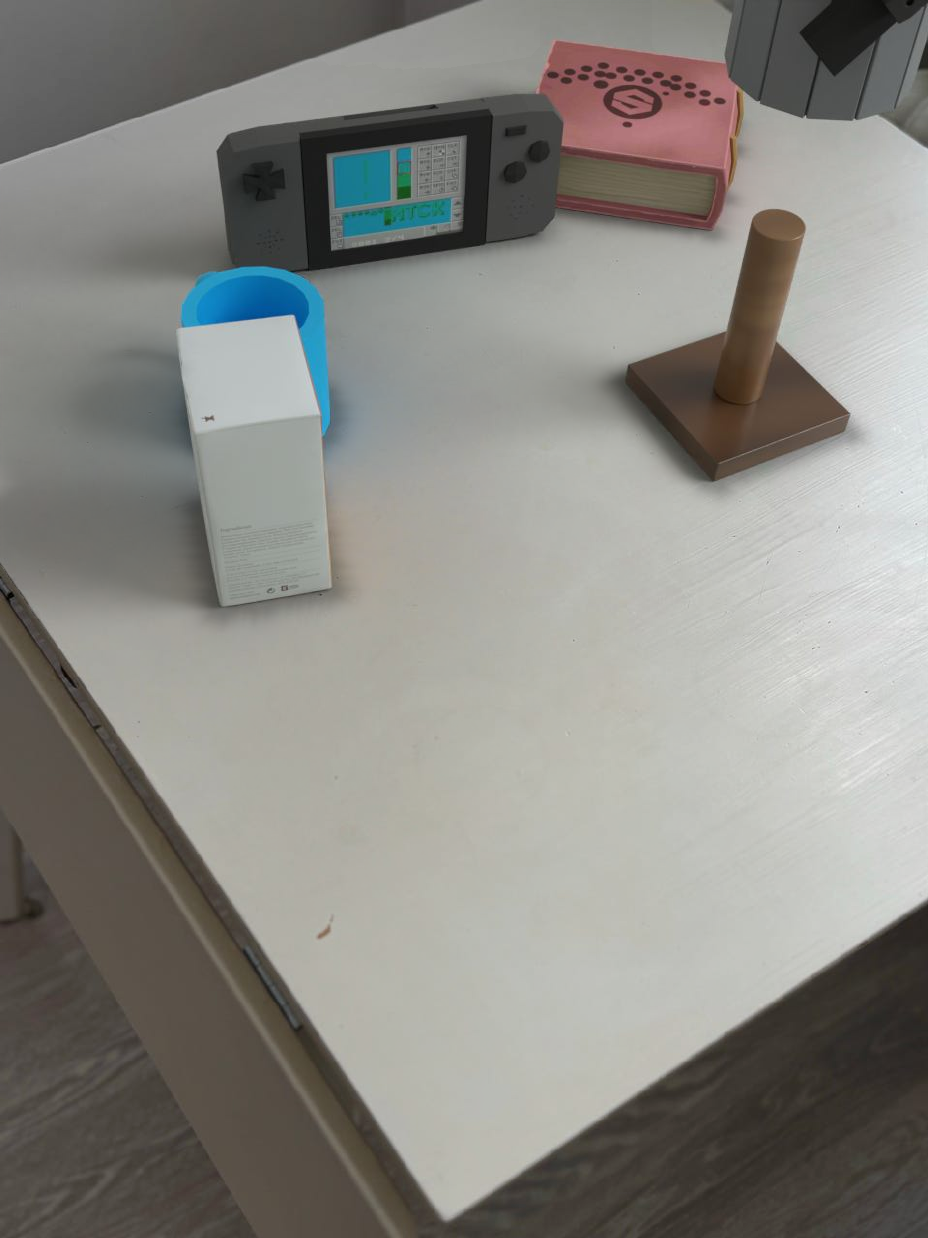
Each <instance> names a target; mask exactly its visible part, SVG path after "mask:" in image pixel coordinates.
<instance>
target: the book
mask: <svg viewBox="0 0 928 1238" xmlns="http://www.w3.org/2000/svg"><path fill="white" fill-rule="evenodd" d="M535 94H546V95H547V97H548V98H549V99H550V100H551V102H552V103H553V104H554V105H555V107H556V108H557V110H558V111H559V113H560V115H561V116H562V118H563V121H564V126H563V136H562V146H561V156H560V166H559V176H558V186H557V196H556V206H555V208H559V209H565V210H574V211H580V212H586V213H591V214H598V215H599V214H600V215H607V216H612V217H618V218H626V219H633V220H640V221H646V222H652V223H653V222H654V223H658V224H659V223H660V224H666V225H674V226H678V227H679V226H680V227H685V228H694V229H698V230H699V229H701V230H706V231H713V230H714V228H715V227H716V224H717V223H718V221H719V219H720V217H721V215H722V213H723V210H724V206H725V202H726V197H727V193H728V191H729V189H730V187H731V185H732V184H733V181H734V178H735V173H736V168H737V164H738V137H739V135H740V132H741V130H742V129H741V128H742V124H743V119H744V114H745V105H744V102H745V101H744V91H743V90H742V89H741V88H739V87H738V86H737V85H736V84H735V83H733V82H732V81H731V78H728V72H727V66H726V62H723V61H717V60H716V61H715V60H708V59H702V58H701V59H700V58H693V57H687V56H678V55H672V54H664V53H657V52H648V51H643V50H636V49H635V50H634V49H628V48H620V47H611V46H605V45H599V44H598V45H597V44H591V43H583V42H575V41H569V40H562V39H552V42H551V45H550V48H549V52H548V54H547V58H546V60H545V64H544V67H543V70H542V74H541V76H540V79H539V81H538V85H537V88H536V91H535Z"/></svg>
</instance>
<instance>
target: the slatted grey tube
mask: <svg viewBox="0 0 928 1238" xmlns="http://www.w3.org/2000/svg"><path fill="white" fill-rule="evenodd" d="M833 1H834V0H734V3H733V7H732V12H731V13H732V14H731V18H730V24H729V29H728V33H727V39H726V45H725V50H724V60H725V63H726V66H727V72H728V78H731V81H732V82H733V83H735V84H736V85H737V86H738V87H739V88H741V89H742V90H743V93H745V94H747V95H748V96H749V97H750V98H751V99H753V100H754V101H755V102H759V104H760V105H762V106H764V107H768V108H770V109H774V110H775V111H776V110H777V111H779V112H783V113H786V114H788V115H791V116H794V117H797V118H800V119H803V118H804V117H805V118H806V119H807V120H823V121H825V120H827V121H843V122H844V121H845V122H846V121H847V122H852V121H853V120H855V121H860V120H863V119H867V118H870V117H874V116H877V115H880V114H884V113H887V112H890V111H893V110H894V109H897V108H898V107H899V105H900V104H901V102H902V101H903V100H905V98H906V96H907V95H908V94H909V93H910V92H911V90H912V89H913V86H914V83H915V79H916V76H917V72H918V70H919V67H920V64H921V60H922V57H923V53H924V50H925V47H926V43H927V41H928V3H927V4H926V5H925V6H924V7H921V9H920V10H919V11H918V12H917V13H916V14H915V15H913V16H912V17H911V18H910V19H908V20H906V21H904V22H902V23H900V24H899V23H898V22H896V23H895V24H894V25H893V26H892V27H891V28H890V29H888V30H887V31H886V32H885V33H884V34H883V35H882V36H880V37H879V38H878V39H877V40H876V41H875V42H874V43H872V44H871V45H870V46H869V47H868V48H867V49H866V50H864V51H863V52H862V53H861V54H860V55H859V56H858V57H857V58H855V59H854V60H853V61H852V62H851V63H850V64H849V65H847V66H846V67H845V68H844V69H843V70H842V71H841V72H839V73H838V74H837V75H836V76H835V77H834V76H833V75H832V73H831V72H830V71H829V70H828V68H827V67H826V66H825V65H824V63H823V62H822V61H821V60H820V59H819V57H818V56H817V55H816V54H815V52H814V51H813V50H812V49H811V47H810V46H809V45H808V44H807V42H806V41H805V40H804V38H803V37H802V36H801V34H800V33H799V32H800V31H801V30H802V29H803V28H804V27H805V26H806V25H808V24H809V23H810V22H811V21H812V20H813V19H814V18H815V17H816V16H817V15H819V14H820V13H821V12H822V11H823V10H824V9H825V8H826V7H827V6H829V5H830V4H831V3H832V2H833Z"/></svg>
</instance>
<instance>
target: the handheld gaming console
mask: <svg viewBox="0 0 928 1238" xmlns="http://www.w3.org/2000/svg"><path fill="white" fill-rule="evenodd" d="M563 126H564V121H563V118H562V116H561V115H560V113H559V111H558V110H557V108H556V107H555V105H554V104H553V103H552V102H551V100H550V99H549V98H548V97H547V95H546V94H536V93H510V94H503V95H495V96H487V97H479V98H472V99H463V100H456V101H448V102H441V103H433V104H425V105H418V106H417V105H415V106H409V107H408V106H407V107H402V108H391V109H385V110H378V111H377V110H376V111H369V112H361V113H353V114H346V115H338V116H337V115H336V116H329V117H321V118H313V119H306V120H298V121H290V122H283V123H275V124H266V125H258V126H253V127H250V128H246V129H242V130H237V131H234V132H230V133H228V134H227V135H226V136H225V138H224V139H223V140H222V142H221V144H220V145H219V147H218V148H217V149H216V152H215V153H216V158H217V159H216V160H217V167H218V176H219V182H220V190H221V197H222V204H223V214H224V222H225V224H224V225H225V234H226V243H227V250H228V251H227V252H228V254H229V257H230V261H231V264H232V265H233V266H235V267H236V268H240V267H262V266H265V267H271V268H276V269H282V270H286V271H289V272H293V271H299V270H301V271H302V270H307V269H309V271H318V270H319V271H320V270H324V269H325V270H326V269H331V268H338V267H345V266H351V265H358V264H366V263H372V262H377V261H384V260H385V261H386V260H392V259H398V258H405V257H411V256H418V255H426V254H431V253H432V254H433V253H438V252H446V251H451V250H457V249H464V248H470V247H477V246H478V247H479V246H485V244H486V243H490V242H497V241H503V240H509V239H510V240H511V239H517V238H522V237H526V236H530V235H534V234H538V233H542V232H544V230H545V229H546V228H547V227H548V226H549V224H551V222H552V221H553V220H554V219H555V214H556V207H555V206H556V196H557V186H558V176H559V166H560V156H561V146H562V136H563Z"/></svg>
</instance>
